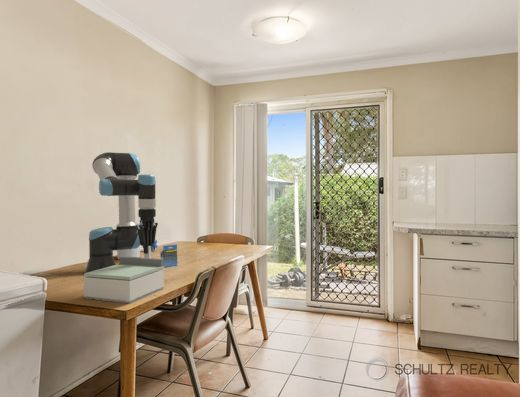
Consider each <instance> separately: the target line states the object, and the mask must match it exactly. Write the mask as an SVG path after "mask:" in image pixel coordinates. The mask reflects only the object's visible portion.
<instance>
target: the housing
mask: <svg viewBox="0 0 520 397" xmlns="http://www.w3.org/2000/svg"><path fill="white" fill-rule="evenodd" d="M164 270H165V269H161V270H158V271H155V272H152V273H149V274H146V275H144V276H141V277H138V278H135V279H132V280H121V279H111V278H99V277H86V276H84V277H83V299H84V298H86V299H85V300H92V299H95V301H101V300H102V302H111V301H112V302H114V303H120V304H132V303H135V302H137V301H139V300H141V299H144V298H146V297H148V296H150V295H153V294H155V293H157V292H160V291H162V290H164V289H165V287H164V286H165V284H164V283H165V279H164V277H165V276H164Z"/></svg>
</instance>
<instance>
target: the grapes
mask: <svg viewBox="0 0 520 397" xmlns="http://www.w3.org/2000/svg"><path fill="white" fill-rule="evenodd" d="M157 243H158V240H157V239H155V243H154V245H153V246H151V252H154V251H156V248H158V244H157ZM142 249H143V250H144V247H143V246H142Z"/></svg>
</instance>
